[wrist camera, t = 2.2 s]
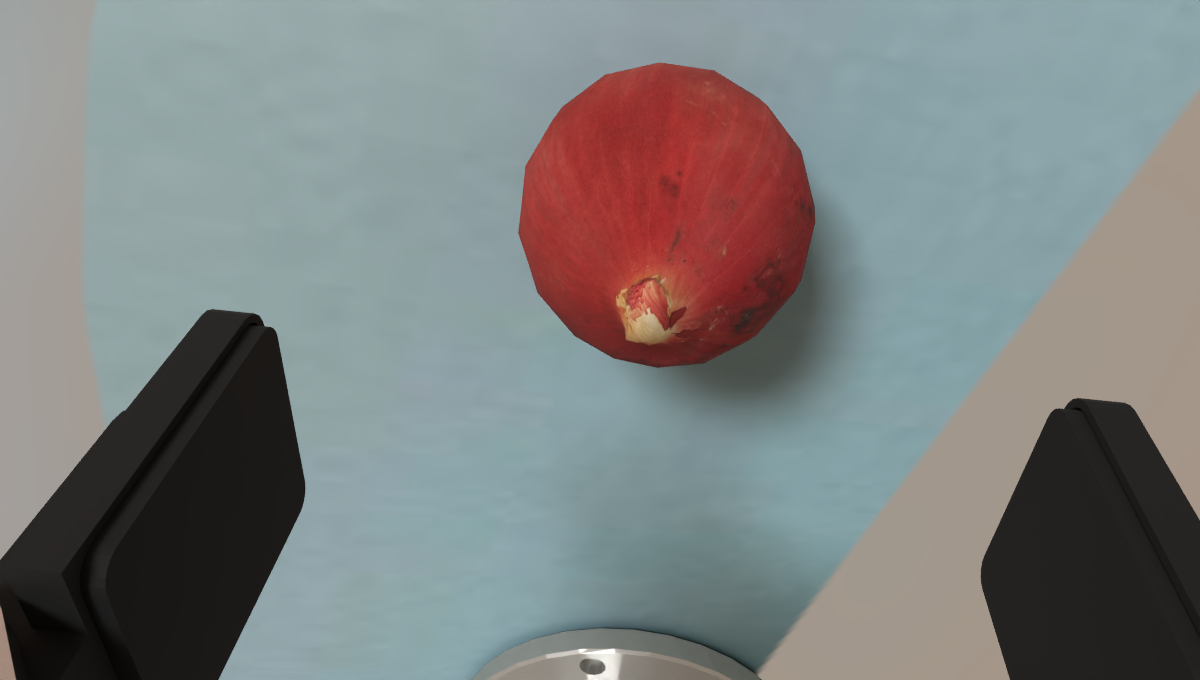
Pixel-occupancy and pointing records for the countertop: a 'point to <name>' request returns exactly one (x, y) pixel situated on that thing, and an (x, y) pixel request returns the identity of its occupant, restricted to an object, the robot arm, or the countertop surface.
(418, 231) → the countertop surface
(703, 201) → the onion
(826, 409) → the countertop surface
